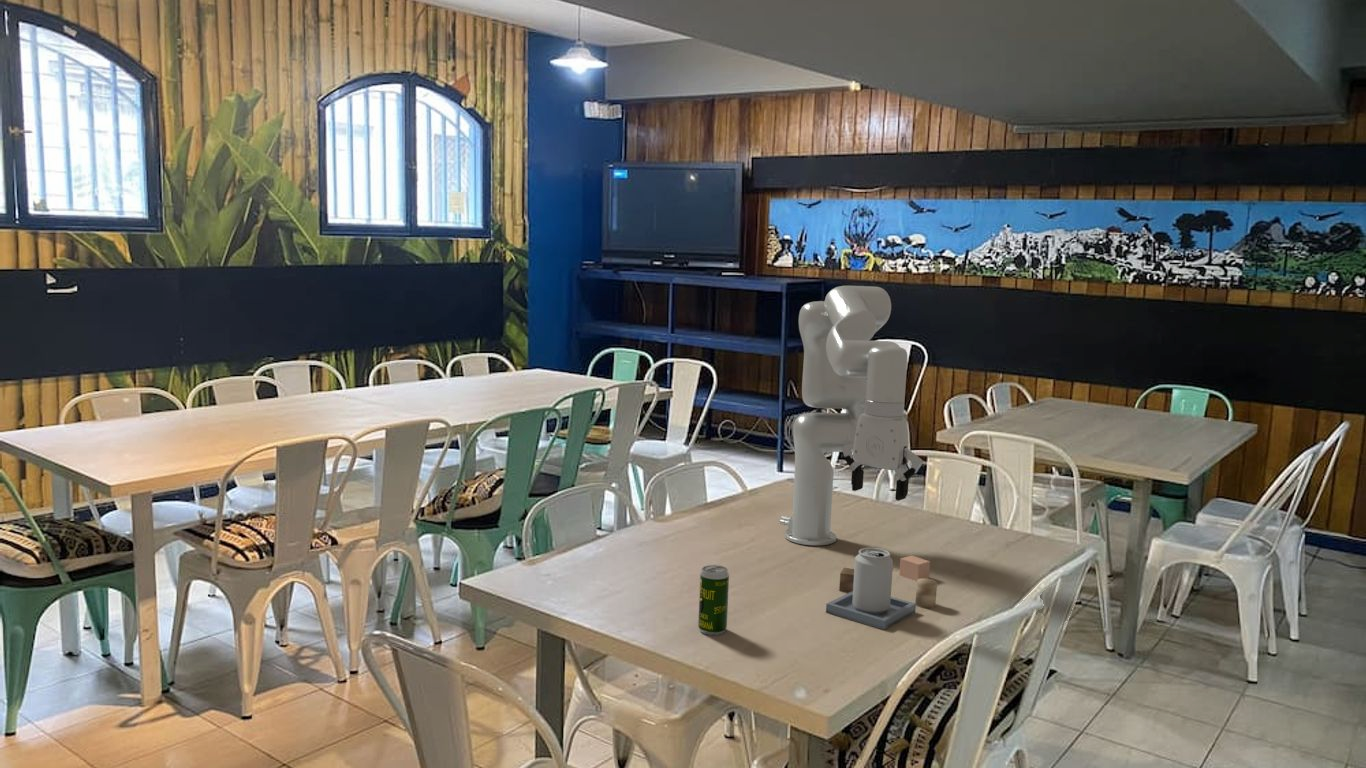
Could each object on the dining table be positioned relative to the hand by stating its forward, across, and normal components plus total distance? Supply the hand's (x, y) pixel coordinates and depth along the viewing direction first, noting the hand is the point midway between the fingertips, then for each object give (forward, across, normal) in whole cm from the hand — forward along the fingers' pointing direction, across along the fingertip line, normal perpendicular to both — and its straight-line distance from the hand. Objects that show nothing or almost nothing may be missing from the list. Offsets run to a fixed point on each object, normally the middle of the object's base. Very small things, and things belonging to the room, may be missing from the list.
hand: (878, 494), depth 204 cm
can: (+24, 0, 0) cm, 24 cm away
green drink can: (+24, -17, -31) cm, 43 cm away
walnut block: (+24, -10, +8) cm, 28 cm away
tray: (+24, 0, 0) cm, 24 cm away
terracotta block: (+24, -4, +26) cm, 36 cm away
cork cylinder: (+24, +6, +12) cm, 28 cm away
